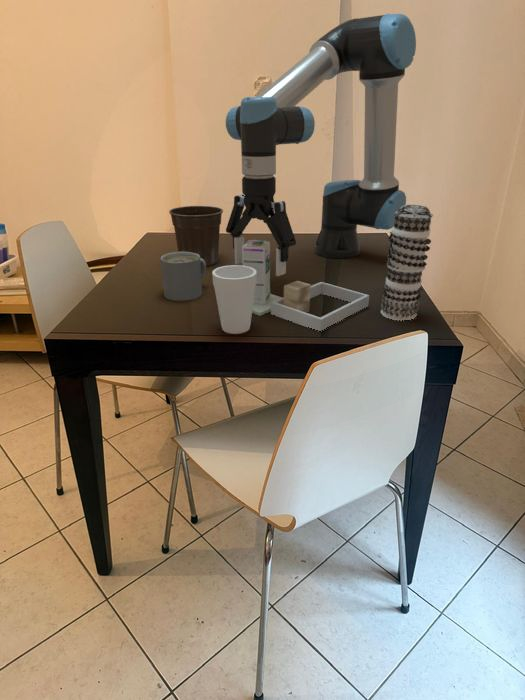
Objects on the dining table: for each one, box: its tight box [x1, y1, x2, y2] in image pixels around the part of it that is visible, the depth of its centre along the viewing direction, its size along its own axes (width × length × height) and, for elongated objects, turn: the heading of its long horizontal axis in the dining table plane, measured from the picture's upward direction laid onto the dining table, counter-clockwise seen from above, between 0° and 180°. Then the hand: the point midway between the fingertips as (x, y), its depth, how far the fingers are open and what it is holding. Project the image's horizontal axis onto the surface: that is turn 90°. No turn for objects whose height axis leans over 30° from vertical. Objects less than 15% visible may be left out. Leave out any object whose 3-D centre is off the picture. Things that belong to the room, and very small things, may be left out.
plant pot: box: [168, 205, 224, 267], centre depth 144 cm, size 16×16×16 cm
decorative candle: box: [380, 204, 434, 322], centre depth 106 cm, size 9×9×25 cm
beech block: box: [283, 280, 312, 313], centre depth 110 cm, size 5×4×7 cm
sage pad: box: [252, 293, 283, 317], centre depth 117 cm, size 11×11×1 cm
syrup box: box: [241, 239, 271, 304], centre depth 114 cm, size 6×6×14 cm
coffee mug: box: [160, 251, 207, 302], centre depth 121 cm, size 13×10×10 cm
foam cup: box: [211, 264, 257, 335], centre depth 101 cm, size 10×9×13 cm
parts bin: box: [270, 281, 370, 332], centre depth 112 cm, size 20×15×3 cm
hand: (259, 268), depth 113 cm, fingers open, 13 cm apart
